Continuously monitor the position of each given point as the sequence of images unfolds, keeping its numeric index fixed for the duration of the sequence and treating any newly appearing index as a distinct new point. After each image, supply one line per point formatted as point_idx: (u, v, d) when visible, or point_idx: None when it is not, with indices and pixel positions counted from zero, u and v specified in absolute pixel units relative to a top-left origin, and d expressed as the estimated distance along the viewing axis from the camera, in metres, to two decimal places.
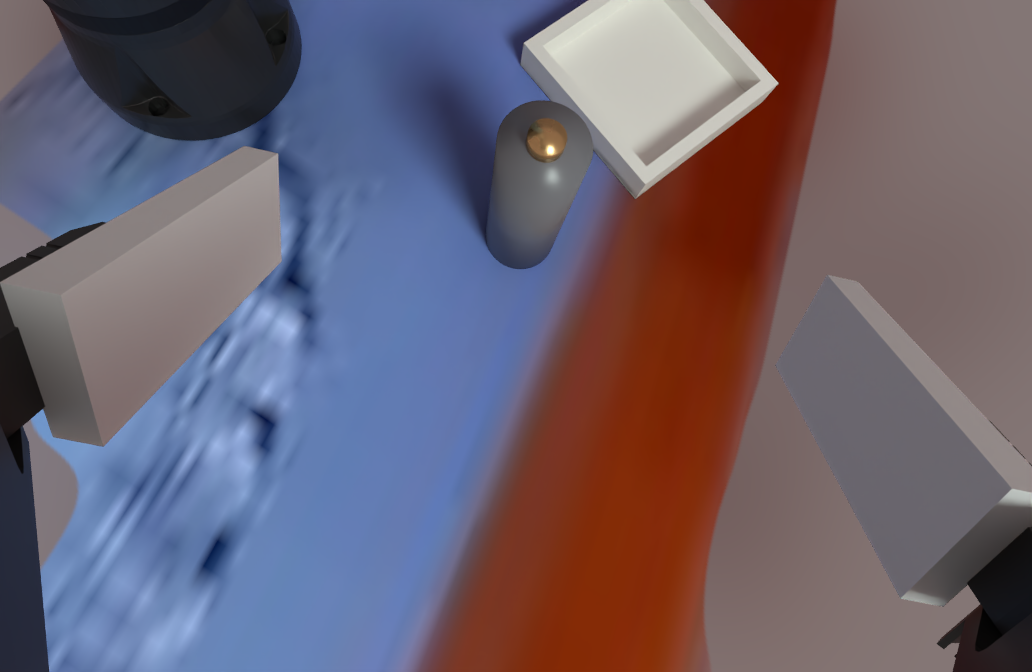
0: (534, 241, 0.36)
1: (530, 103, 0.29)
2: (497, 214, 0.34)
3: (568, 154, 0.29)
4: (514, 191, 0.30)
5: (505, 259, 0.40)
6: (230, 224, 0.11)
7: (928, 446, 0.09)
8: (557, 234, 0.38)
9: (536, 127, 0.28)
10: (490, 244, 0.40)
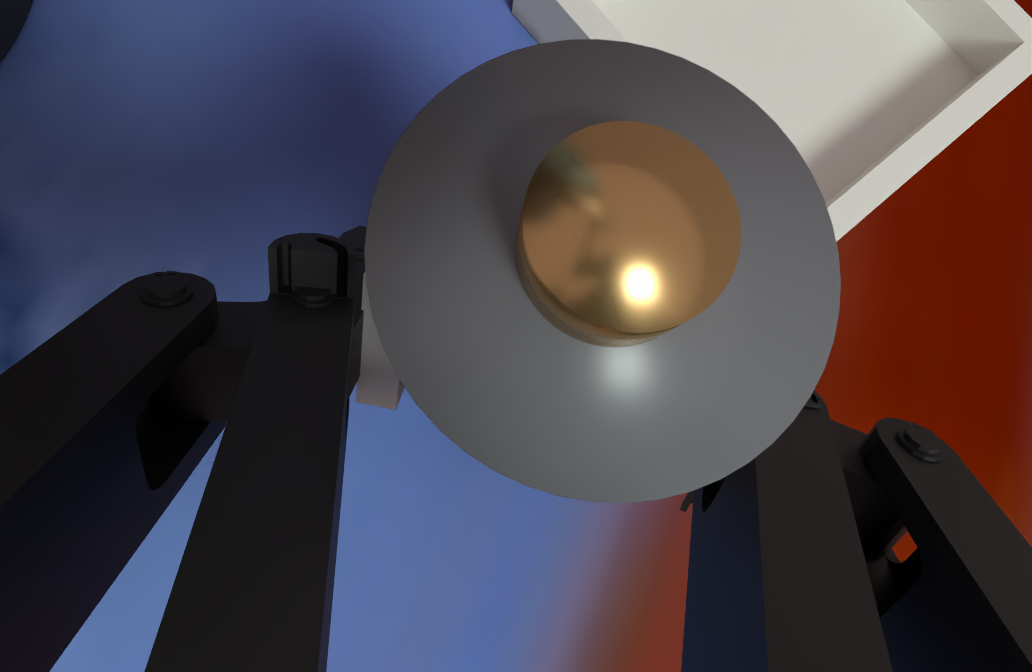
0: None
1: (537, 51, 0.06)
2: None
3: (723, 299, 0.06)
4: None
5: None
6: None
7: None
8: None
9: (571, 172, 0.05)
10: None
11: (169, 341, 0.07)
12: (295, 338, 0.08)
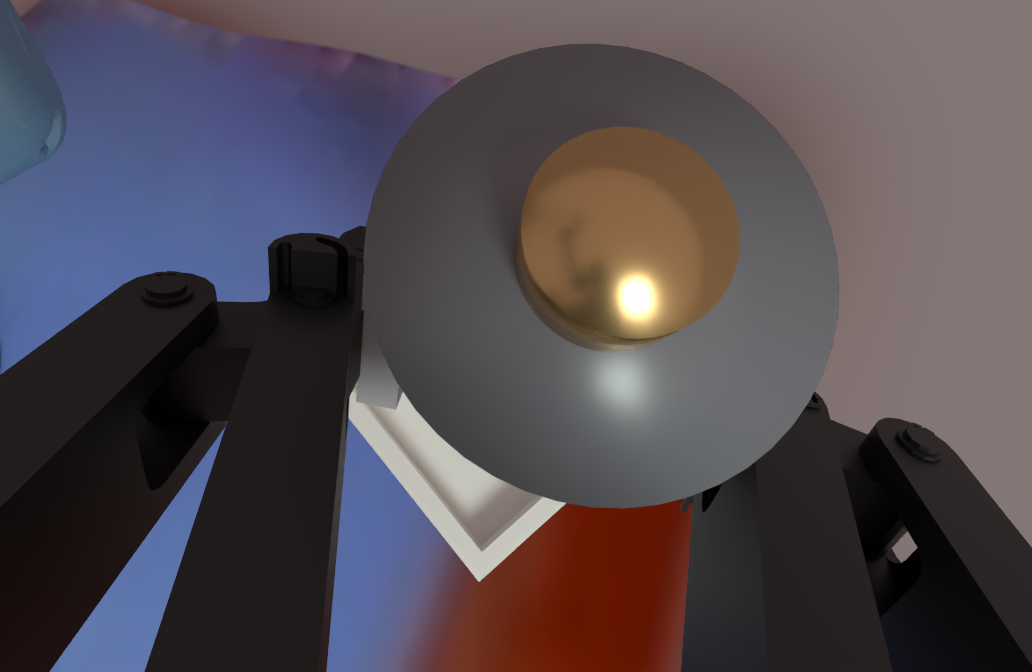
0: None
1: (536, 56, 0.06)
2: None
3: (722, 304, 0.06)
4: None
5: None
6: None
7: None
8: None
9: (570, 177, 0.05)
10: None
11: (169, 341, 0.07)
12: (295, 338, 0.08)
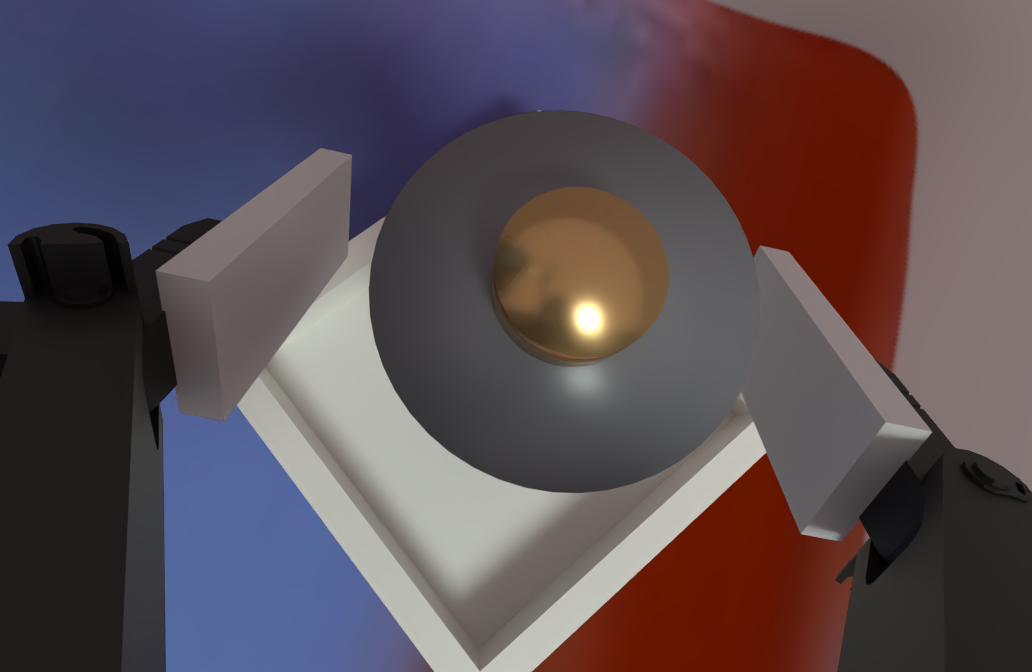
0: None
1: (511, 121, 0.08)
2: None
3: (662, 327, 0.07)
4: None
5: None
6: (317, 220, 0.12)
7: (827, 393, 0.10)
8: None
9: (533, 229, 0.06)
10: None
11: None
12: (64, 344, 0.07)
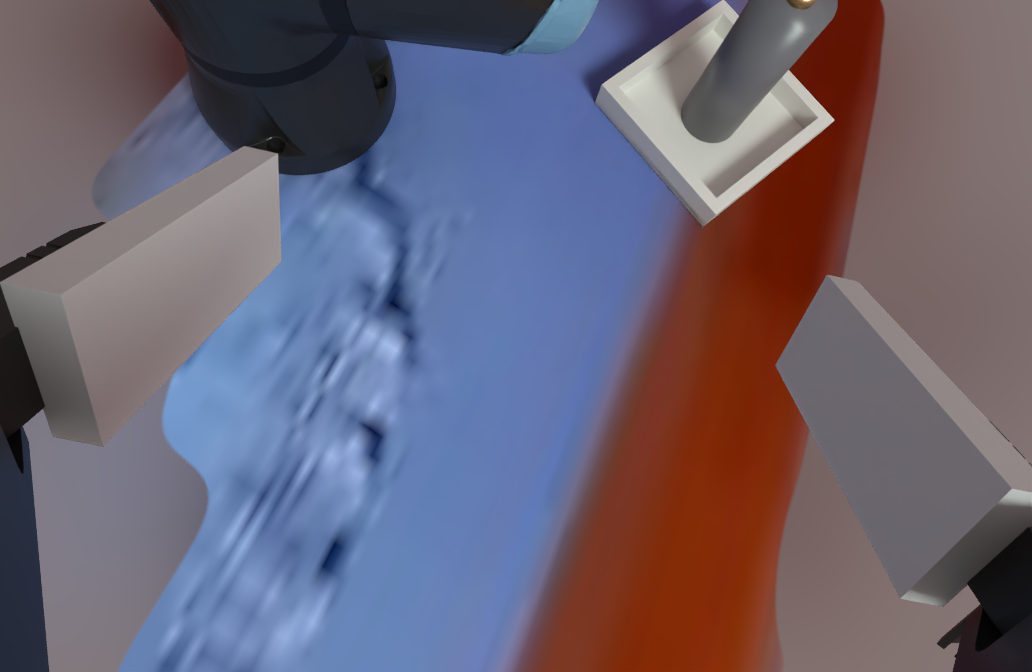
0: (749, 102, 0.42)
1: None
2: (727, 74, 0.41)
3: (818, 3, 0.35)
4: (769, 37, 0.36)
5: (704, 131, 0.46)
6: (230, 224, 0.11)
7: (928, 446, 0.09)
8: None
9: None
10: (691, 118, 0.47)
11: None
12: None
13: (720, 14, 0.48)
